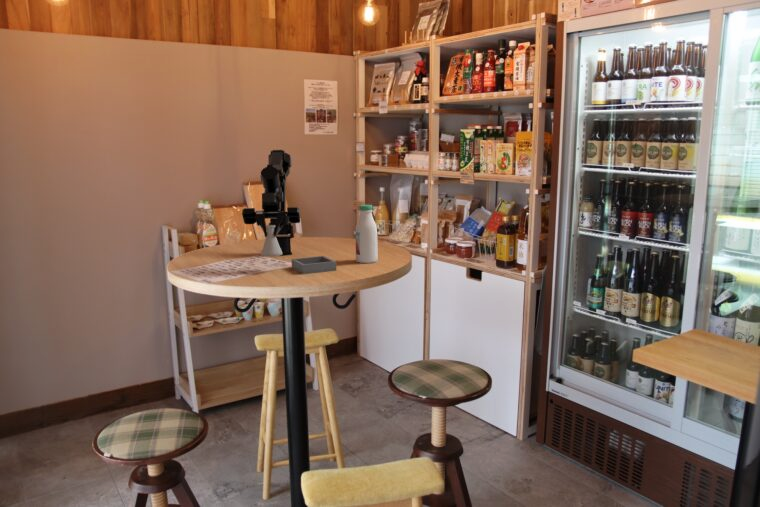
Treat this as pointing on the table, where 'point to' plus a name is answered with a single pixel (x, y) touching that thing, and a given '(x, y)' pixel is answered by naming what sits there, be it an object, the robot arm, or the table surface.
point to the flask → (271, 243)
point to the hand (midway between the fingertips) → (270, 236)
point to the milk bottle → (366, 236)
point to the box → (313, 264)
